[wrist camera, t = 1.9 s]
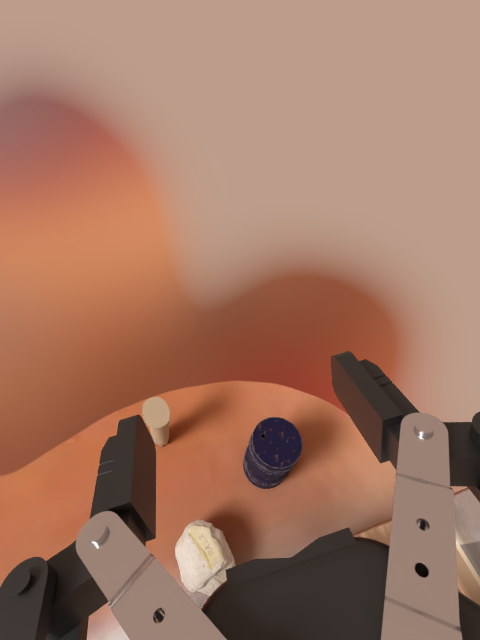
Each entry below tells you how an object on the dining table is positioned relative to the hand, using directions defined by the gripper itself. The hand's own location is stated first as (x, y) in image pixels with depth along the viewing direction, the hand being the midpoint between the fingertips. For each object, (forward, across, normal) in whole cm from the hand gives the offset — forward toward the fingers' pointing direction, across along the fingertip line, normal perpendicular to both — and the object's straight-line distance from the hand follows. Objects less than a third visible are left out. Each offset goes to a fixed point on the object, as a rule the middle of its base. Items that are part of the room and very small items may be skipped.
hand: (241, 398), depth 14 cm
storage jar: (+36, +2, -58) cm, 68 cm away
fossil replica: (+22, -14, -60) cm, 65 cm away
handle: (+44, -19, -50) cm, 69 cm away
